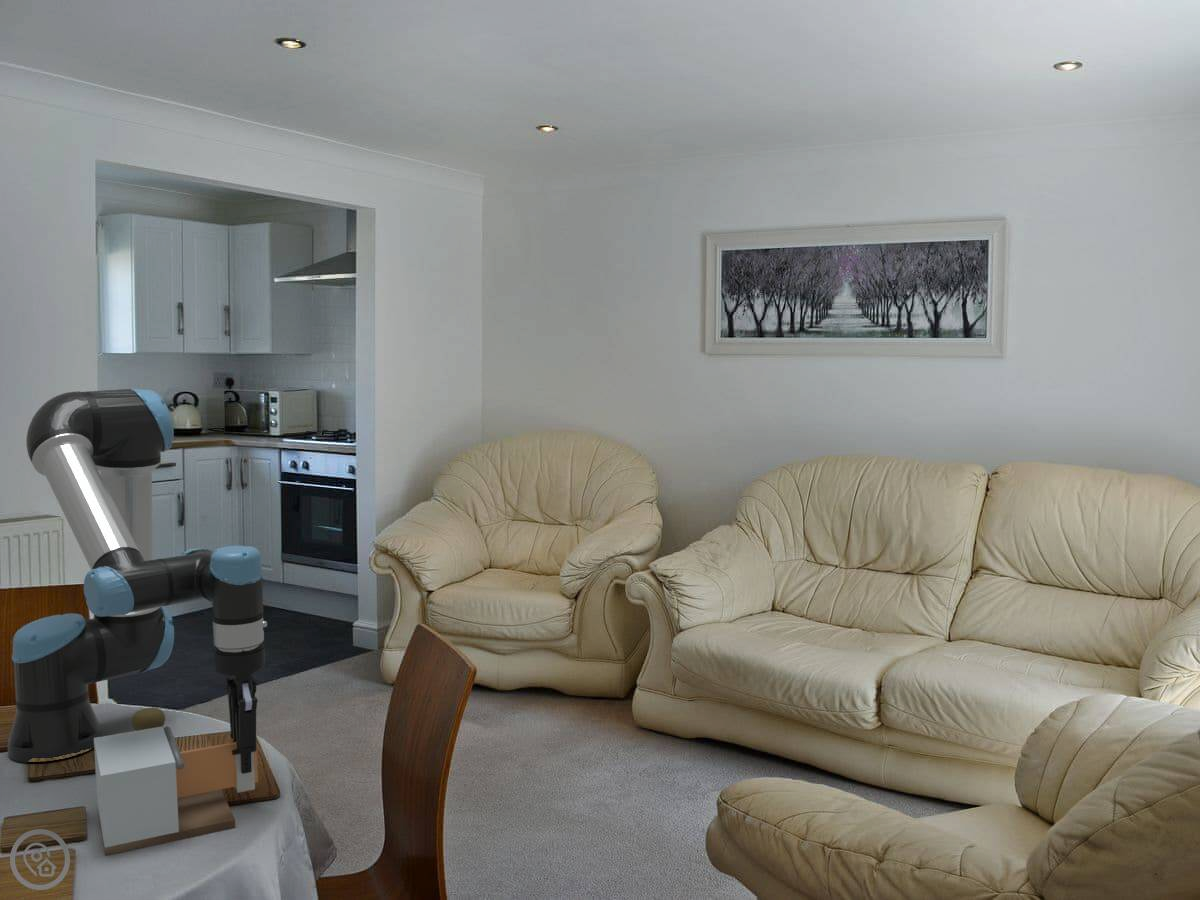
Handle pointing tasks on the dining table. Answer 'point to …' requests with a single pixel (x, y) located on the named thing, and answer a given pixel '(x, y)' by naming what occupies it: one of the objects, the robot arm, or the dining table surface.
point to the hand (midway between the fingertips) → (245, 788)
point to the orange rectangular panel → (209, 769)
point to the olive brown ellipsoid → (148, 719)
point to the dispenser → (137, 784)
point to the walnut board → (189, 820)
